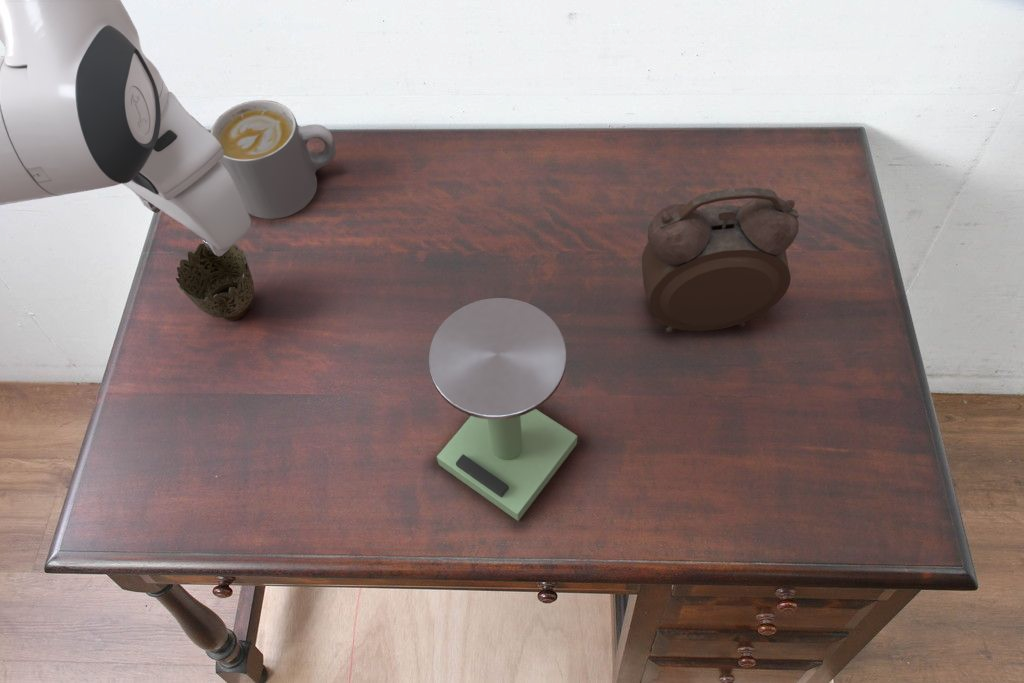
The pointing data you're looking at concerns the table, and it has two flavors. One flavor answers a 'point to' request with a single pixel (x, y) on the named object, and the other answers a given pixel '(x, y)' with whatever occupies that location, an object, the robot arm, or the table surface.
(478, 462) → the scale
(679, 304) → the alarm clock
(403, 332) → the table surface
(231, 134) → the coffee mug
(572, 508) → the table surface
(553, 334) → the brushed steel disc
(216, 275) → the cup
